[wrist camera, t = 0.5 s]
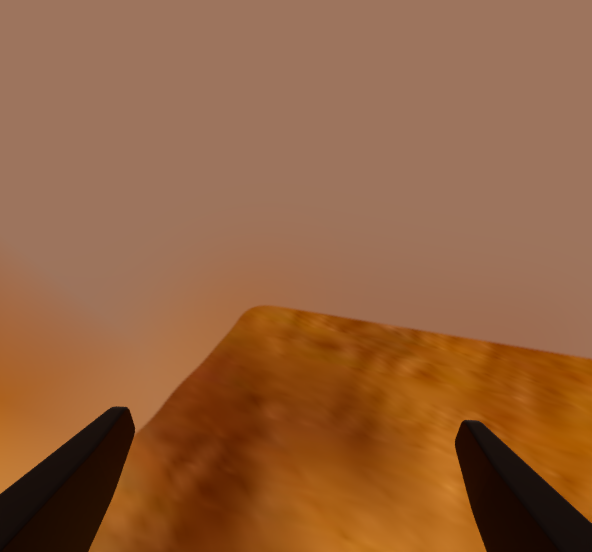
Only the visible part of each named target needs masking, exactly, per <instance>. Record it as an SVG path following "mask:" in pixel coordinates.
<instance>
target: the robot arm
mask: <svg viewBox="0 0 592 552" xmlns="http://www.w3.org/2000/svg"><path fill="white" fill-rule="evenodd" d="M134 433H135V426H134V423H133V420H132V416H131V413H130V410H129V409H128V408H127V407H112V408H110V409H108V410H107V411H106V412H104V413H103V414H102V415H101V416H100V417H98V418H97V419H95V420H94V421H93V422H92V423H90V424H89V425H88V426H87V427H86V428H84V429H83V430H81V431H80V432H79V433H78V434H76V435H75V436H74V437H73V438H71V439H70V440H69V441H67V442H66V443H65V444H64V445H62V446H61V447H60V448H59V449H57V450H56V451H55V452H54V453H52V454H51V455H50V456H48V457H47V458H46V459H44V460H43V461H42V462H41V463H39V464H38V465H37V466H36V467H34V468H33V469H32V470H31V471H29V472H28V473H27V474H25V475H24V476H23V477H21V478H20V479H19V480H18V481H16V482H15V483H14V484H13V485H11V486H10V487H9V488H7V489H6V490H5V491H4V492H2V493H1V494H0V552H88V551H89V549H90V546H91V544H92V542H93V540H94V538H95V535H96V533H97V531H98V529H99V527H100V524H101V522H102V520H103V518H104V515H105V513H106V511H107V509H108V507H109V504H110V502H111V500H112V497H113V495H114V492H115V489H116V487H117V484H118V481H119V478H120V475H121V472H122V469H123V466H124V464H125V461H126V458H127V455H128V452H129V449H130V446H131V443H132V440H133V437H134ZM455 448H456V452H457V456H458V460H459V464H460V468H461V472H462V475H463V479H464V483H465V487H466V491H467V494H468V498H469V502H470V505H471V509H472V512H473V515H474V518H475V521H476V524H477V527H478V529H479V532H480V535H481V537H482V540H483V543H484V546H485V548H486V551H487V552H592V523H591V522H590V521H588V520H587V519H586V518H585V517H584V516H583V515H582V514H581V513H580V512H579V511H578V510H576V509H575V508H574V507H573V506H572V505H571V504H570V503H569V502H568V501H567V500H566V499H564V498H563V497H562V496H561V495H560V494H559V493H558V492H557V491H556V490H555V489H554V488H552V487H551V486H550V485H549V484H548V483H547V482H546V481H545V480H544V479H543V478H542V477H541V476H539V475H538V474H537V473H536V472H535V471H534V470H533V469H532V468H531V467H530V466H529V465H527V464H526V463H525V462H524V461H523V460H522V459H521V458H520V457H519V456H518V455H517V454H515V453H514V452H513V451H512V450H511V449H510V448H509V447H508V446H507V445H506V444H505V443H503V442H502V441H501V440H500V439H499V438H498V437H497V436H496V435H495V434H494V433H493V432H491V431H490V430H489V429H488V428H487V427H486V426H485V425H484V424H483V423H481V422H480V421H476V420H464V421H463V422H462V423H461V425H460V428H459V431H458V433H457V436H456V439H455Z"/></svg>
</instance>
